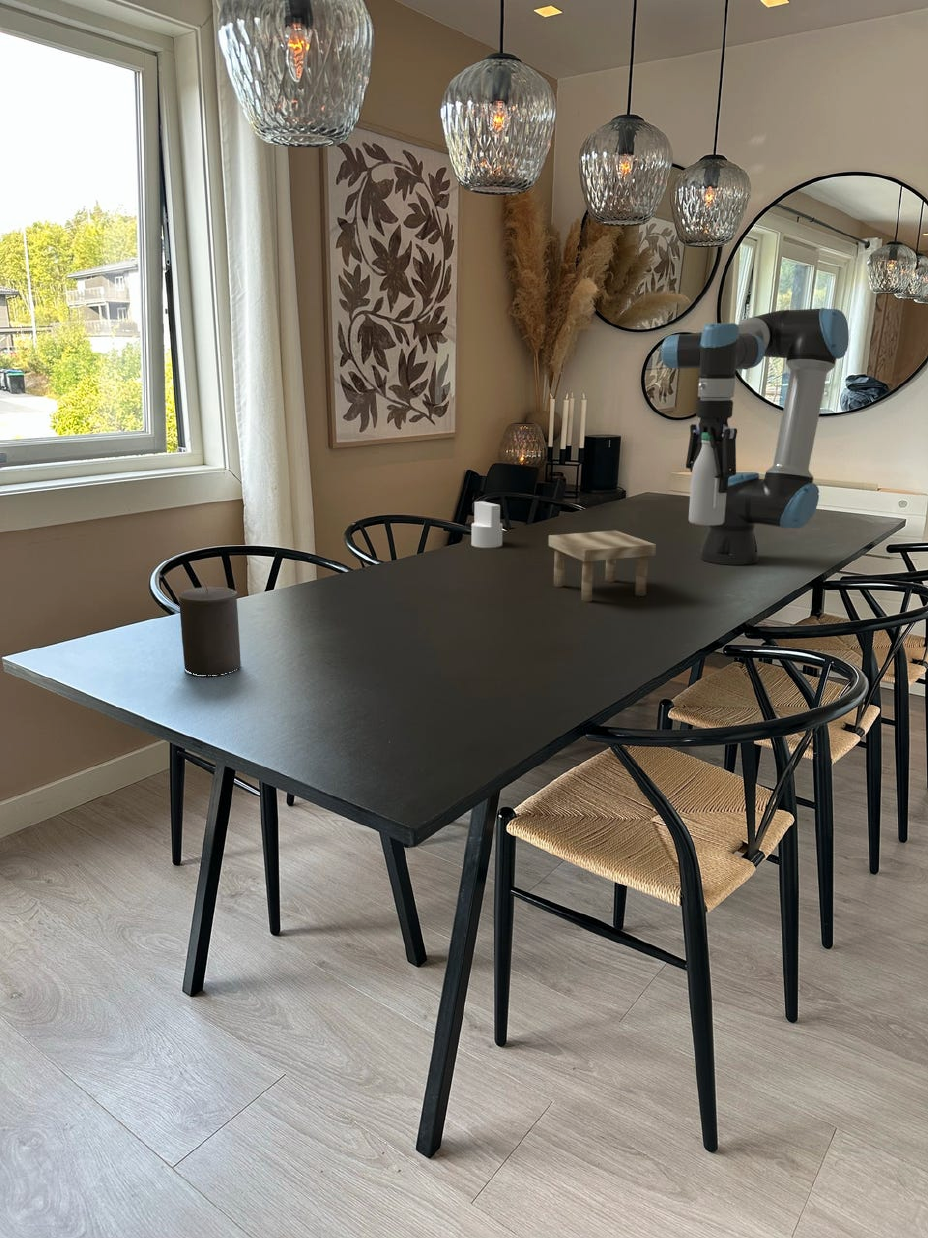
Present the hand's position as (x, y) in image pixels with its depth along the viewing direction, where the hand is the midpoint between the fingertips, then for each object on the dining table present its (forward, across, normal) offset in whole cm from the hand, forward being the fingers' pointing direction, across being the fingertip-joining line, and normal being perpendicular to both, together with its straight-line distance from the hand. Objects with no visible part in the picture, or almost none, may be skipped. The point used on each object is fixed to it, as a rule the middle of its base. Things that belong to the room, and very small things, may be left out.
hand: (707, 504), depth 197 cm
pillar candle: (+20, +11, -110) cm, 112 cm away
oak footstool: (+21, -13, -20) cm, 31 cm away
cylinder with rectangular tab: (+21, -71, -24) cm, 78 cm away
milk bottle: (+4, 0, 0) cm, 4 cm away
